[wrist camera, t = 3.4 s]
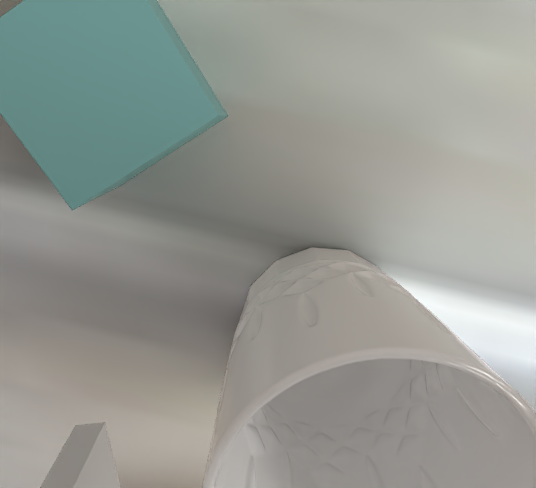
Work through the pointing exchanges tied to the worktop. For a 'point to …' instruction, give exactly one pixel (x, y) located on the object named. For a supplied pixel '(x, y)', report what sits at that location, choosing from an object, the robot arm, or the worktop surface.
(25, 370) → the worktop surface
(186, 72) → the teal painted block
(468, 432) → the white cup
